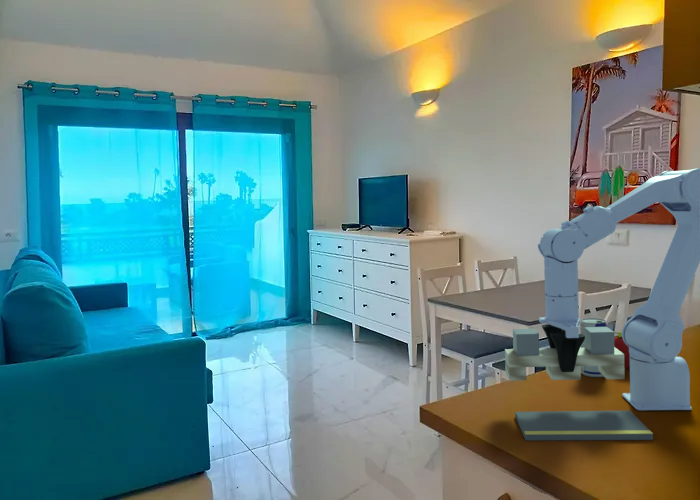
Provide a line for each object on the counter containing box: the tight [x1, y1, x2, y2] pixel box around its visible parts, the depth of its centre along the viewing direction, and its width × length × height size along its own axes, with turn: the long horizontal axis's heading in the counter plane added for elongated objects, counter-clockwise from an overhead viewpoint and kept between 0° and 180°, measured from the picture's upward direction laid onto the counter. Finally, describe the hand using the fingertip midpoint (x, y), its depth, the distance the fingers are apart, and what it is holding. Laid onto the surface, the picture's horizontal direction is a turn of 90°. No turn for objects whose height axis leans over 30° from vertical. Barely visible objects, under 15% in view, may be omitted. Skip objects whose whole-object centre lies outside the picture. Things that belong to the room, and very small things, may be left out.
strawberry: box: [614, 331, 630, 370], centre depth 126 cm, size 6×8×10 cm
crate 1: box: [512, 328, 540, 356], centre depth 105 cm, size 4×4×4 cm
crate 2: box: [584, 326, 615, 354], centre depth 103 cm, size 4×4×4 cm
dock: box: [514, 410, 654, 441], centre depth 97 cm, size 20×10×1 cm, turn 83°
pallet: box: [504, 347, 625, 382], centre depth 104 cm, size 20×5×4 cm, turn 83°
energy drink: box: [579, 317, 608, 378], centre depth 124 cm, size 5×5×12 cm
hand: (563, 366), depth 105 cm, fingers closed on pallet, 5 cm apart
